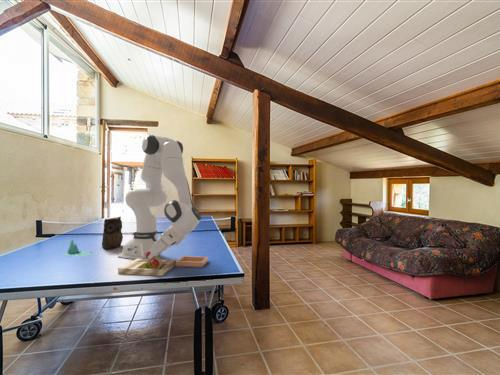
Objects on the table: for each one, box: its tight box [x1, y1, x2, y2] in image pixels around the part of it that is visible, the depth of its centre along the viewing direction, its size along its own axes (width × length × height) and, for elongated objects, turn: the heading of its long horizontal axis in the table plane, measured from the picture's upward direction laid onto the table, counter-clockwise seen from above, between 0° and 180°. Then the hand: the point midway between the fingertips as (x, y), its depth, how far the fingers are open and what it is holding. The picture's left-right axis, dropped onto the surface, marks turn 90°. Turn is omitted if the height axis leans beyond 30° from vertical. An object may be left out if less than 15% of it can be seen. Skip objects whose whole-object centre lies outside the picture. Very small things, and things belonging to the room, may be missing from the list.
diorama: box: [63, 238, 94, 257], centre depth 159 cm, size 12×20×9 cm, turn 77°
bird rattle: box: [142, 251, 163, 269], centre depth 128 cm, size 6×11×9 cm
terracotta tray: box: [174, 255, 209, 269], centre depth 140 cm, size 14×11×2 cm
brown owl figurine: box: [101, 216, 124, 251], centre depth 175 cm, size 13×13×20 cm
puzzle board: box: [117, 258, 177, 277], centre depth 131 cm, size 21×17×3 cm
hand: (154, 255), depth 128 cm, fingers open, 8 cm apart
